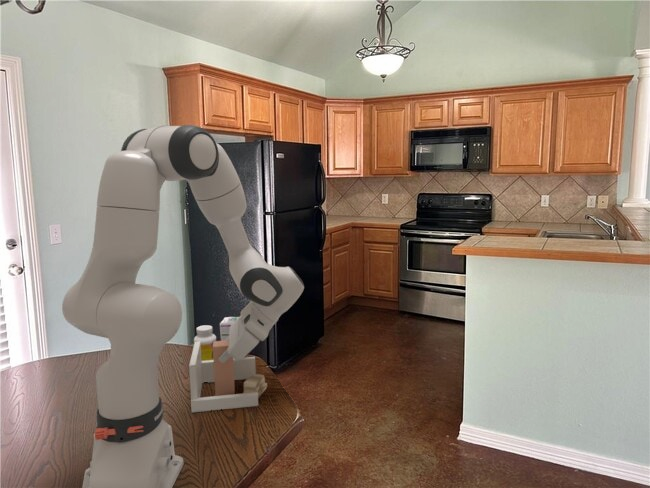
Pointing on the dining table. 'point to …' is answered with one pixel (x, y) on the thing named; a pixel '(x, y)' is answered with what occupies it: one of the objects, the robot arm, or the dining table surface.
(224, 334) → the syrup box
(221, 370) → the salmon pink rectangular block
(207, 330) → the supplement bottle
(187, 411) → the dining table surface
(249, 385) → the offcut stack
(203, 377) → the offcut rack
